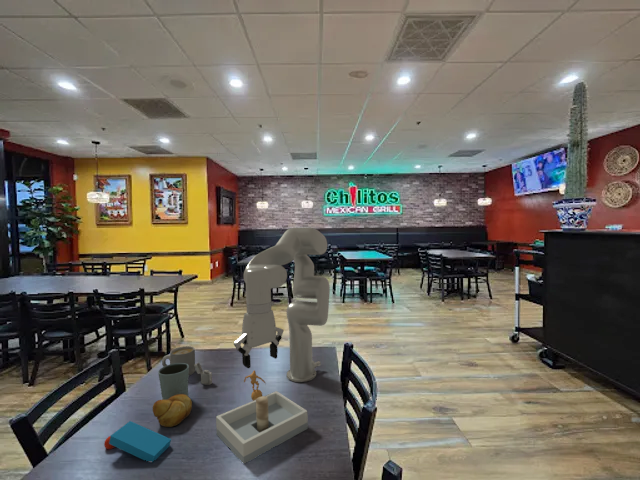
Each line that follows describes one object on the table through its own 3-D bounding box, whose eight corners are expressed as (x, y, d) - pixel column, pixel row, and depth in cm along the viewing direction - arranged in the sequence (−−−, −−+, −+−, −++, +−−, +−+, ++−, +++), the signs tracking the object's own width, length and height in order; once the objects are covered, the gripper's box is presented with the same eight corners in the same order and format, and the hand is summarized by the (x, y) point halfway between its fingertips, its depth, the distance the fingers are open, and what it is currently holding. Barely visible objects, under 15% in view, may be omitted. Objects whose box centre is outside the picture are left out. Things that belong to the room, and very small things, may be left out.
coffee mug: (199, 367, 144) (198, 346, 143) (189, 377, 134) (188, 354, 134) (170, 367, 144) (169, 346, 144) (158, 377, 134) (157, 354, 134)
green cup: (194, 399, 116) (193, 367, 116) (166, 411, 109) (164, 377, 108) (182, 390, 123) (181, 360, 123) (155, 401, 116) (153, 368, 115)
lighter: (212, 382, 129) (211, 363, 129) (209, 384, 127) (209, 365, 127) (197, 381, 131) (196, 362, 130) (194, 383, 129) (193, 363, 129)
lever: (166, 461, 92) (115, 437, 95) (171, 439, 91) (120, 416, 94) (148, 479, 85) (94, 453, 88) (154, 456, 84) (99, 430, 88)
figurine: (269, 398, 116) (268, 366, 115) (263, 408, 110) (262, 374, 109) (248, 397, 117) (247, 365, 117) (241, 405, 111) (240, 372, 111)
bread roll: (179, 405, 112) (178, 383, 112) (202, 410, 109) (201, 387, 109) (149, 427, 100) (148, 402, 100) (173, 432, 97) (173, 407, 97)
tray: (276, 406, 111) (276, 391, 110) (307, 428, 98) (307, 411, 98) (216, 434, 96) (216, 416, 96) (243, 464, 83) (243, 443, 83)
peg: (264, 426, 99) (263, 395, 99) (270, 431, 97) (270, 399, 96) (254, 431, 97) (253, 399, 97) (260, 436, 94) (259, 403, 94)
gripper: (275, 301, 106) (276, 350, 107) (227, 311, 95) (229, 367, 96) (288, 304, 101) (290, 357, 102) (239, 316, 89) (241, 375, 90)
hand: (260, 361), depth 99 cm, fingers open, 9 cm apart
